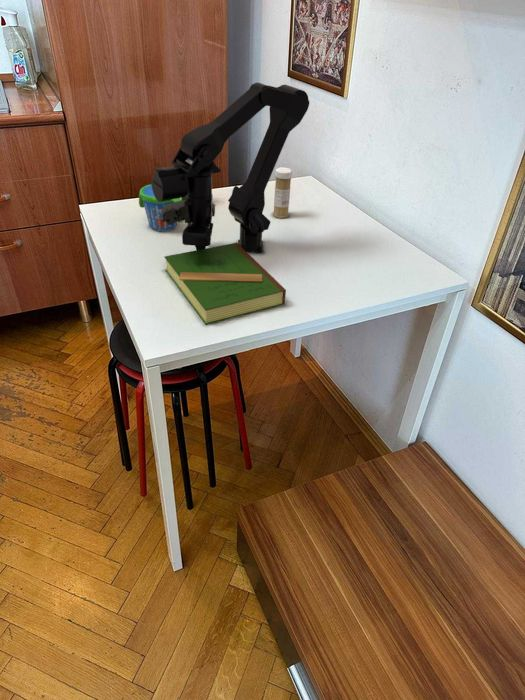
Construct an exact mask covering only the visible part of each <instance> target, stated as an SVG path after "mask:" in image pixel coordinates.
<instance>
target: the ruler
mask: <svg viewBox="0 0 525 700" xmlns="http://www.w3.org/2000/svg"><path fill="white" fill-rule="evenodd" d="M179 280H180V281H218V282H255V283H262V274H231V273H195V272H181V273H180V279H179Z"/></svg>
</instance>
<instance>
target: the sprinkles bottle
mask: <svg viewBox="0 0 525 700" xmlns="http://www.w3.org/2000/svg"><path fill="white" fill-rule="evenodd" d="M274 174H275V175H274V176H275V185H274V186H275V187H274V199H273V213H272V215H273V216H274V217H275V218H278V219H285V218H288V217H289V207H290V197H291V182H292V181H291V180H292V178H293V177H292V176H293V170H292V169H291V168H289V167H284V166H283V167H277V168H276V169H275V173H274Z"/></svg>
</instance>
